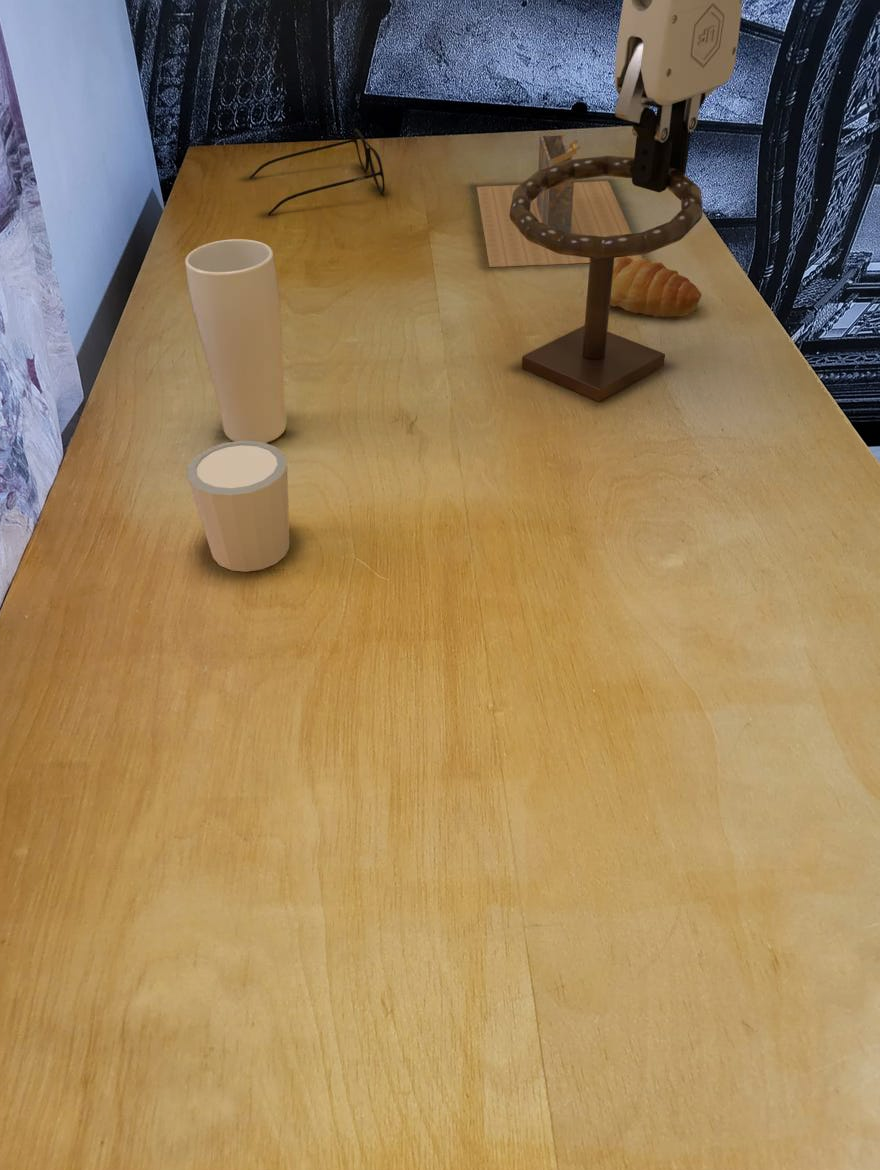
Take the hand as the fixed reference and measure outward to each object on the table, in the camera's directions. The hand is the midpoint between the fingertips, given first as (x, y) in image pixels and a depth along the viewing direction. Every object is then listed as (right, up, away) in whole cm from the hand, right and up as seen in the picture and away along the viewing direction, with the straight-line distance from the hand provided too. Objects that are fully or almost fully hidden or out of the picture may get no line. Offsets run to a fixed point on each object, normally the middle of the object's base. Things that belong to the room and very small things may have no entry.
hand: (657, 182), depth 87 cm
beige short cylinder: (-33, -32, -12) cm, 47 cm away
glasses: (-32, +19, +45) cm, 58 cm away
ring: (-5, -3, -3) cm, 7 cm away
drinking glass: (-34, -21, 0) cm, 40 cm away
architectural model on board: (-4, +10, +33) cm, 35 cm away
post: (-4, -14, +6) cm, 16 cm away
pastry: (+3, -5, +16) cm, 17 cm away
